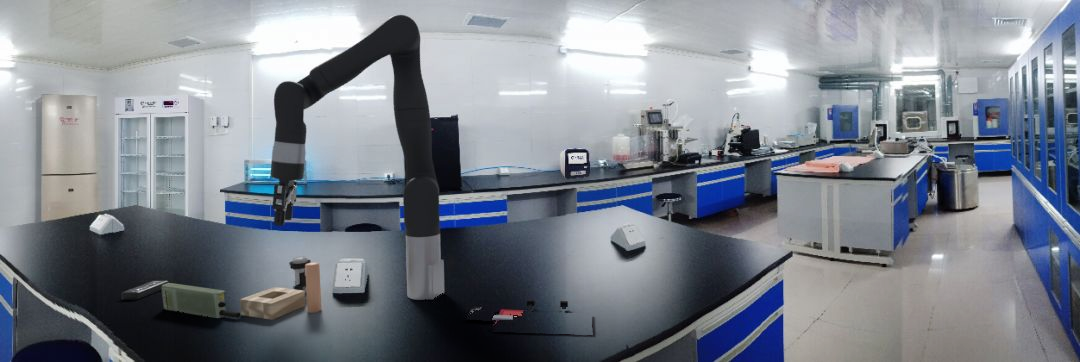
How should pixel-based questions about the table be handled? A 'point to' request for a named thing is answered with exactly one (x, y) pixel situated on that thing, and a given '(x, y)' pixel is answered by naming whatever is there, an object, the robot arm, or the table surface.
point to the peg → (313, 287)
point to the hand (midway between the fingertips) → (283, 222)
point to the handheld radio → (195, 300)
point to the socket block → (272, 303)
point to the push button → (299, 272)
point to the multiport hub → (143, 290)
